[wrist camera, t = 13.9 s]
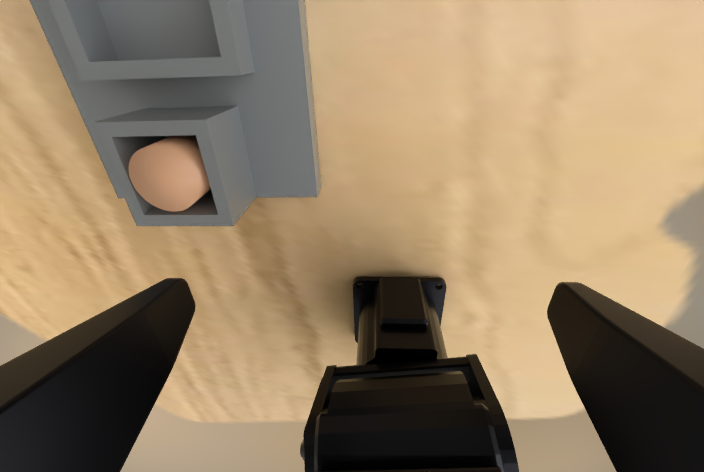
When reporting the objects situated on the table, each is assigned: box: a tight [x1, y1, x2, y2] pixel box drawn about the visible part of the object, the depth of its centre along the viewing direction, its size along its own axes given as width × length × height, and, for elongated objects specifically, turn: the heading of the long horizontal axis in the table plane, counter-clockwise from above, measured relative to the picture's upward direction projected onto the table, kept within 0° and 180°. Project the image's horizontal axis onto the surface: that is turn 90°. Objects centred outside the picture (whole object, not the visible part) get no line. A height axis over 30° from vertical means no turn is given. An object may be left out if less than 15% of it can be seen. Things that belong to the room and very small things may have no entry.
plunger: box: [128, 135, 211, 212], centre depth 15 cm, size 3×3×3 cm
